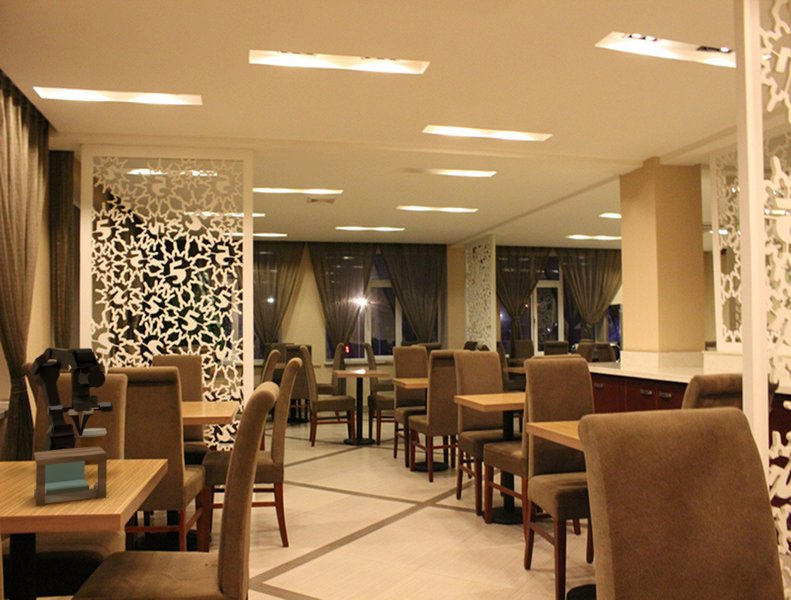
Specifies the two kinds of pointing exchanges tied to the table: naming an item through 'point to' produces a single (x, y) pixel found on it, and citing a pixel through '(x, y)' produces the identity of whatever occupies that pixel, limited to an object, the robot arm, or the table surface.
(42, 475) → the walnut overhang shelf
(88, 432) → the disposable coffee cup
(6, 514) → the table surface
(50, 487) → the teal plastic shell
